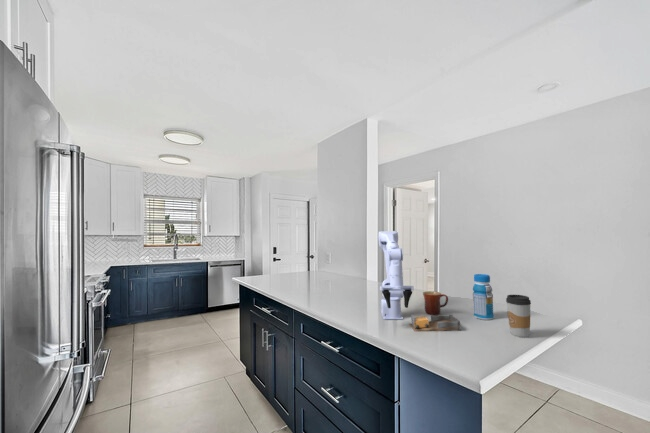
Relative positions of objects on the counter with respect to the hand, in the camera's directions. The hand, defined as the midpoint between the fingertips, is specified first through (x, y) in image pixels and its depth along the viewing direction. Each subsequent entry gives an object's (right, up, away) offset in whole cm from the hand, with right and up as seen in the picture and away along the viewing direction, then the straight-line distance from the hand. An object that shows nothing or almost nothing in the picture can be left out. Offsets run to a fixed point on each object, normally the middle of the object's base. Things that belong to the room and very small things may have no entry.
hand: (397, 307), depth 128 cm
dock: (+16, -9, 0) cm, 18 cm away
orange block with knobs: (+10, -9, 0) cm, 13 cm away
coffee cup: (+45, -7, -12) cm, 47 cm away
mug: (+24, -9, +20) cm, 32 cm away
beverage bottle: (+44, -8, +12) cm, 46 cm away
